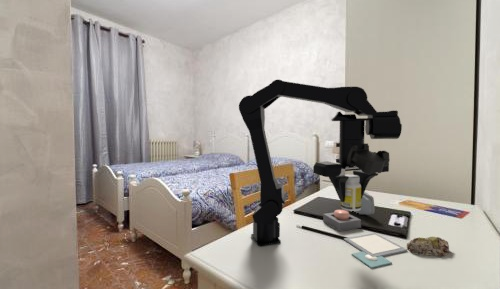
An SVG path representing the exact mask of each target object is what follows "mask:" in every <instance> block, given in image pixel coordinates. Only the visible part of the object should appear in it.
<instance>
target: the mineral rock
mask: <svg viewBox="0 0 500 289" xmlns="http://www.w3.org/2000/svg"><path fill="white" fill-rule="evenodd" d="M406 249H407V250H409V252H410V253H414V254H416V255H417V254H418V255H423V256H425V255H426V256H427V255H429V256H430V255H433V256H436V257H445V256H446V255H449V253H450V245H449V242H448V241H447V240H445V239H444V238H443V239H442V238H441V237H438V236H437V237H436V236H429V237H415V238H414V237H413V239H410V241H408V242H407V243H406Z"/></svg>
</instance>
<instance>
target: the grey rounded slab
mask: <svg viewBox="0 0 500 289" xmlns="http://www.w3.org/2000/svg"><path fill="white" fill-rule="evenodd" d="M374 198H375V197H374V196H372V195H371V194H370V193H368V192H366V191H365V192H364V194H363V196H362V199H361V210H359V211H354V212H356V213H355V214H357V213H359V214H358V215H373V214H374V213H375V199H374ZM354 212H353V213H354Z"/></svg>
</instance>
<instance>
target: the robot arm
mask: <svg viewBox="0 0 500 289" xmlns="http://www.w3.org/2000/svg"><path fill="white" fill-rule="evenodd" d="M281 97H282V98H286V99H287V98H288V99H294V100H299V101H307V102H311V103H312V102H313V103H317V104H318V103H319V104H324V105H327V106H330V107H331V108H335V109H336V110H339V111H338V112H336V115H334V116H333V117H331V122H339V142H336V143H335V146H336V148H339V150H338V153H339V156H338V157H339V158H336V159H335V162H332V161H316V162H315V164H314V165H313V171H312V172H313V174H315V175H318V176H322V177H325V178H328V179H329V180H330V182H331V184H332V186H333V187H334V190H335V192H336V194H337V197H338V198H339V200H340V203H341V202H344V201H345V185H346V181H347V180H348V178H349V177H348V176H345V175H346V172H351V171H352V175H357V176H359V177H360V182H359V184H361V199H362V196H363V194H364V192H366V189H367V187H368V184H369V182H370V181H371V179H373V178H374V177H377V176H378V175H379V174H381V173H388V172H389V171H390V166H389V165H390V152H388V151H387V150H377V152H376V151H371V150H370V145H369V143H365V134H366V136H369V138H370V139H371V140H398V139H399V138H400V136H401V134H402V128H403V125H402V123H401V119H400V116H399V115H398V114H399V111H398V110H388V111H377V110H376V109H375V107H374V106H373V105H372V104H371V103H370V102H369V100H368V95H367V92H366V91H365V89H364V88H362V87H360V86H338V87H336V86H335V87H323V86H317V85H312V84H311V85H310V84H305V83H298V82H290V81H286V80H285V81H284V80H282V79H274V80H273V81H272V82H271V83H270V84H268V85H267V86H264V87H263V88H261V89H259V90H258V91H256V92H255V93H253V94H250V95H245V96H243V98H242V99H241V100H240V102H239V103H238V110H239V113H240V115H241V117H242V120H243V122H244V123H245V126H246V129H247V130H248V131H249V135H250V139H251V141H250V142H251V145H252V149H253V153H254V159H255V162H256V167H257V172H258V176H259V181H260V192H259V193H260V194H259V195H260V196H259V198H260V203H259V204H257V206H256V208H255V210H254V212H253V213H252V233H251V234H250V237H251V238H252V240H253V241H254V242H255V243H256V245H257V246H258V247H264V246H270V245H274V244H280V243H282V242H281V239H280V236H281V235H280V234H281V233H280V231H281V230H280V229H281V228H280V227H281V223H280V222H279V217H278V216H279V215H281V213H282V212H283V209H284V205H285V204H286V199H287V194H286V193H285V191H284V188H285V187H284V182H281V183H278V181H277V179H276V176H275V170H274V167H273V162H272V158H271V154H270V150H269V149H270V148H269V145H268V139H267V135H266V130H265V124H266V123H265V121H266V115H265V112H266V110H265V109H267V108H268V107H270V106H271V105H272V104H273V103H274V102H276V101H277V100H278V99H280V98H281ZM342 111H343V112H345V113H349V114H343V113H342ZM351 113H352V114H351ZM356 115H357V116H359V117H363V118H359V117H358V118H357V116H356ZM364 117H365V118H364Z"/></svg>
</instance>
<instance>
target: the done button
mask: <svg viewBox="0 0 500 289" xmlns="http://www.w3.org/2000/svg"><path fill="white" fill-rule="evenodd" d="M333 211H334V217H335V218H337V219H338V220H340V221H341V220H348V219H349V214H350V211H347V210H344V209H335V210H333Z"/></svg>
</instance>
